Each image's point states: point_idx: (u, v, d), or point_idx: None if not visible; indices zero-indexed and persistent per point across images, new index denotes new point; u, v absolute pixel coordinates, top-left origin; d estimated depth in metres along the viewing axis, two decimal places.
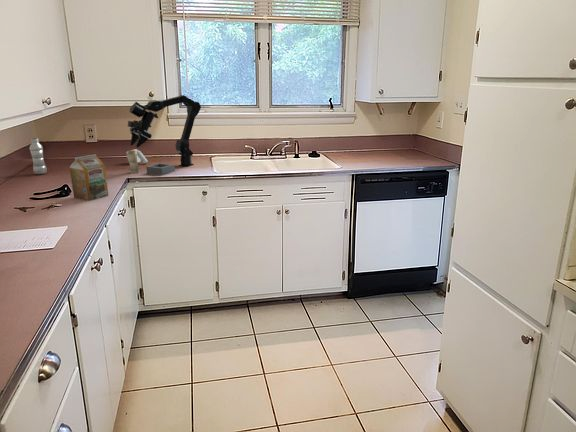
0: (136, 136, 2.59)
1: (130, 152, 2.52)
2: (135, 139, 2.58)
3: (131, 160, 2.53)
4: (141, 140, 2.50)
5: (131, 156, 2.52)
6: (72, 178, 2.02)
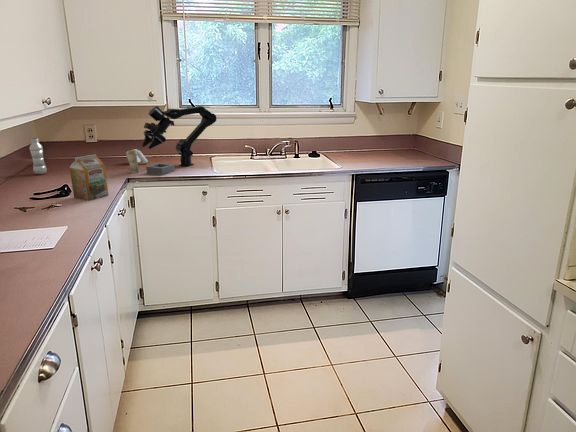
0: (149, 139, 2.63)
1: (130, 152, 2.52)
2: (147, 142, 2.63)
3: (131, 160, 2.53)
4: (154, 142, 2.55)
5: (131, 156, 2.52)
6: (72, 178, 2.02)
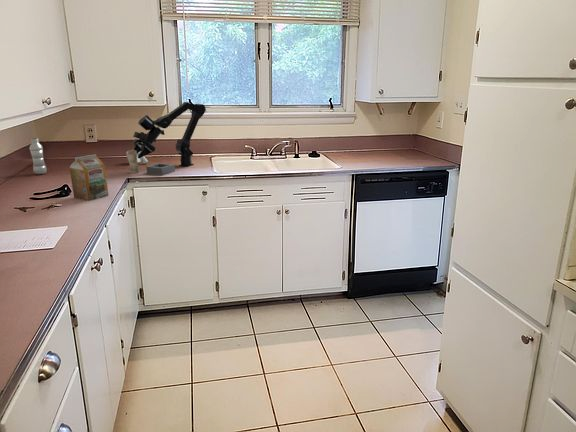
0: (139, 148, 2.61)
1: (130, 152, 2.52)
2: (137, 151, 2.60)
3: (131, 160, 2.53)
4: (144, 152, 2.52)
5: (131, 156, 2.52)
6: (72, 178, 2.02)
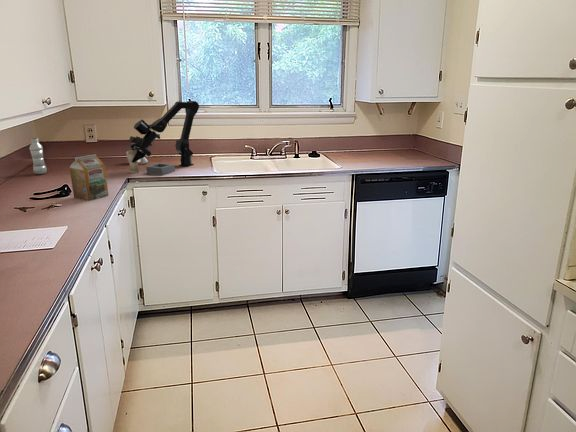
0: None
1: (130, 152, 2.52)
2: None
3: (131, 160, 2.53)
4: (138, 156, 2.53)
5: (131, 156, 2.52)
6: (72, 178, 2.02)
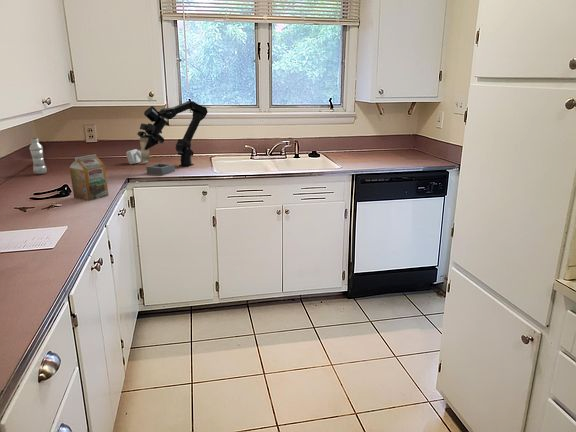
0: None
1: (142, 140, 2.48)
2: None
3: (143, 148, 2.50)
4: (150, 143, 2.50)
5: (143, 144, 2.49)
6: (72, 178, 2.02)
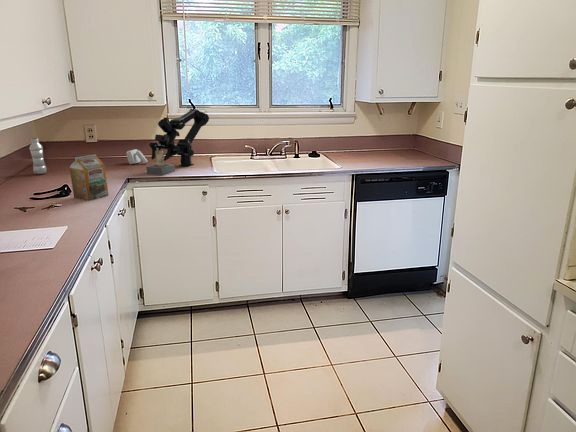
0: None
1: (159, 152, 2.52)
2: (155, 154, 2.58)
3: (160, 160, 2.53)
4: (169, 154, 2.53)
5: (160, 156, 2.52)
6: (72, 178, 2.02)
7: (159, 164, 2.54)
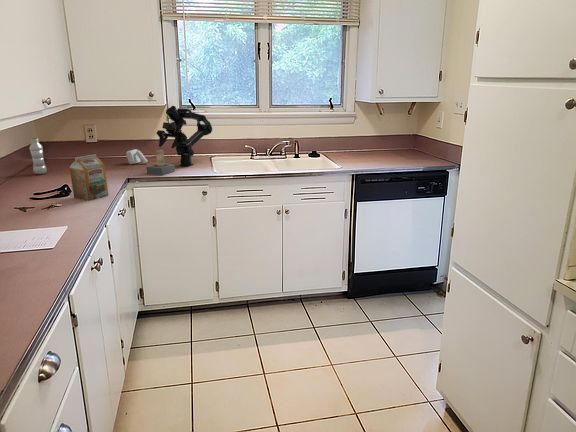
0: (163, 139, 2.63)
1: (159, 152, 2.52)
2: (163, 142, 2.62)
3: (160, 160, 2.53)
4: (177, 142, 2.57)
5: (160, 156, 2.52)
6: (72, 178, 2.02)
7: (159, 164, 2.54)
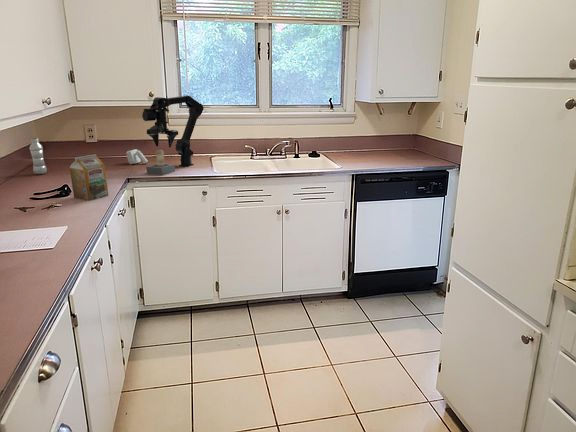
0: (156, 136, 2.63)
1: (159, 152, 2.52)
2: (157, 139, 2.64)
3: (160, 160, 2.53)
4: (171, 140, 2.59)
5: (160, 156, 2.52)
6: (72, 178, 2.02)
7: (159, 164, 2.54)
